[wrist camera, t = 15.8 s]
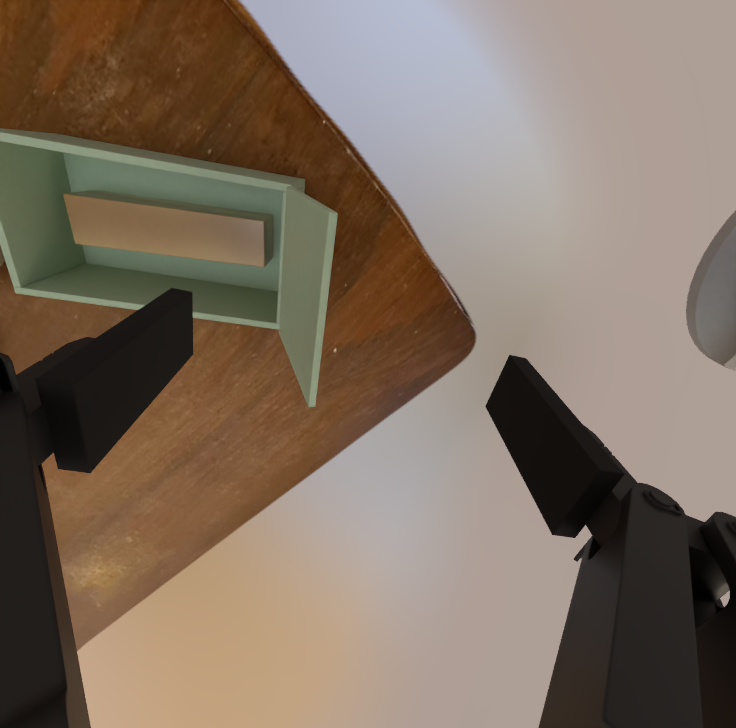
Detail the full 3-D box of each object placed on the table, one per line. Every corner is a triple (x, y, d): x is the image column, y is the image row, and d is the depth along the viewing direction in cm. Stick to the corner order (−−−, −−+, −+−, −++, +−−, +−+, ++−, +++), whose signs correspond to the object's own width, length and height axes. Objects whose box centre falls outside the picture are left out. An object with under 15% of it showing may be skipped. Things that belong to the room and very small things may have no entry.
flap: (286, 185, 22) (293, 186, 22) (278, 333, 27) (284, 333, 27) (329, 211, 15) (338, 212, 15) (308, 407, 19) (315, 406, 20)
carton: (305, 179, 29) (291, 184, 22) (296, 297, 34) (282, 330, 27) (57, 133, 27) (-39, 124, 20) (85, 266, 32) (15, 293, 25)
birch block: (273, 257, 31) (264, 267, 28) (103, 235, 30) (74, 244, 27) (273, 214, 30) (264, 220, 27) (93, 189, 28) (61, 193, 25)
